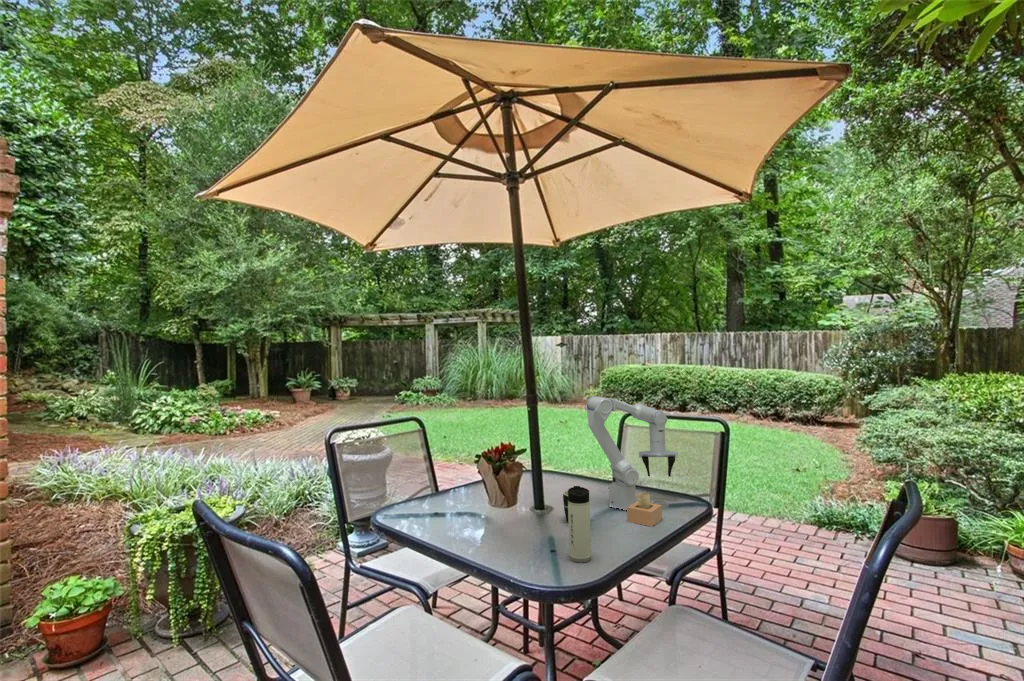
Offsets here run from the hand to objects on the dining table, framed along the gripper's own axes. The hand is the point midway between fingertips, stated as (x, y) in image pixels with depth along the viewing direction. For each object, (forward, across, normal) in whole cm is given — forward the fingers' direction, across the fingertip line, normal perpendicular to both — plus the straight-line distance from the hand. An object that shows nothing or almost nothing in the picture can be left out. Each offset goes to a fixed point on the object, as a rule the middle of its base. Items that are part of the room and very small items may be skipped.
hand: (659, 475), depth 191 cm
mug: (+10, -30, -27) cm, 41 cm away
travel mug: (+10, -27, -55) cm, 62 cm away
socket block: (+10, -7, -21) cm, 24 cm away
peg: (+9, -7, -21) cm, 24 cm away
